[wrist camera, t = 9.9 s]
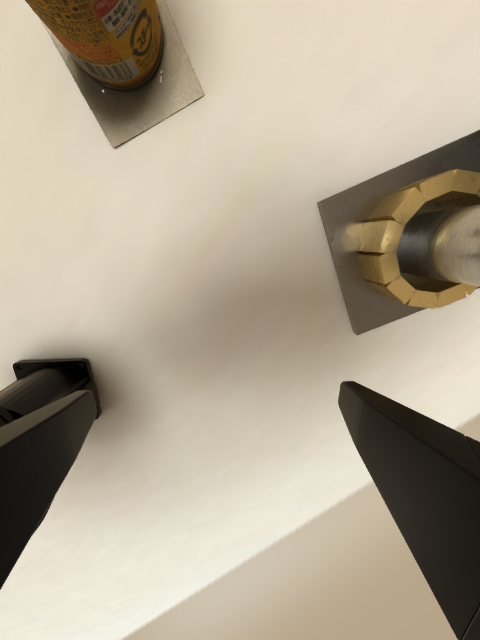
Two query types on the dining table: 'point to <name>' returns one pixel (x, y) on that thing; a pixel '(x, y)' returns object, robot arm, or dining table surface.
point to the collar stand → (397, 232)
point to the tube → (442, 245)
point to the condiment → (122, 60)
